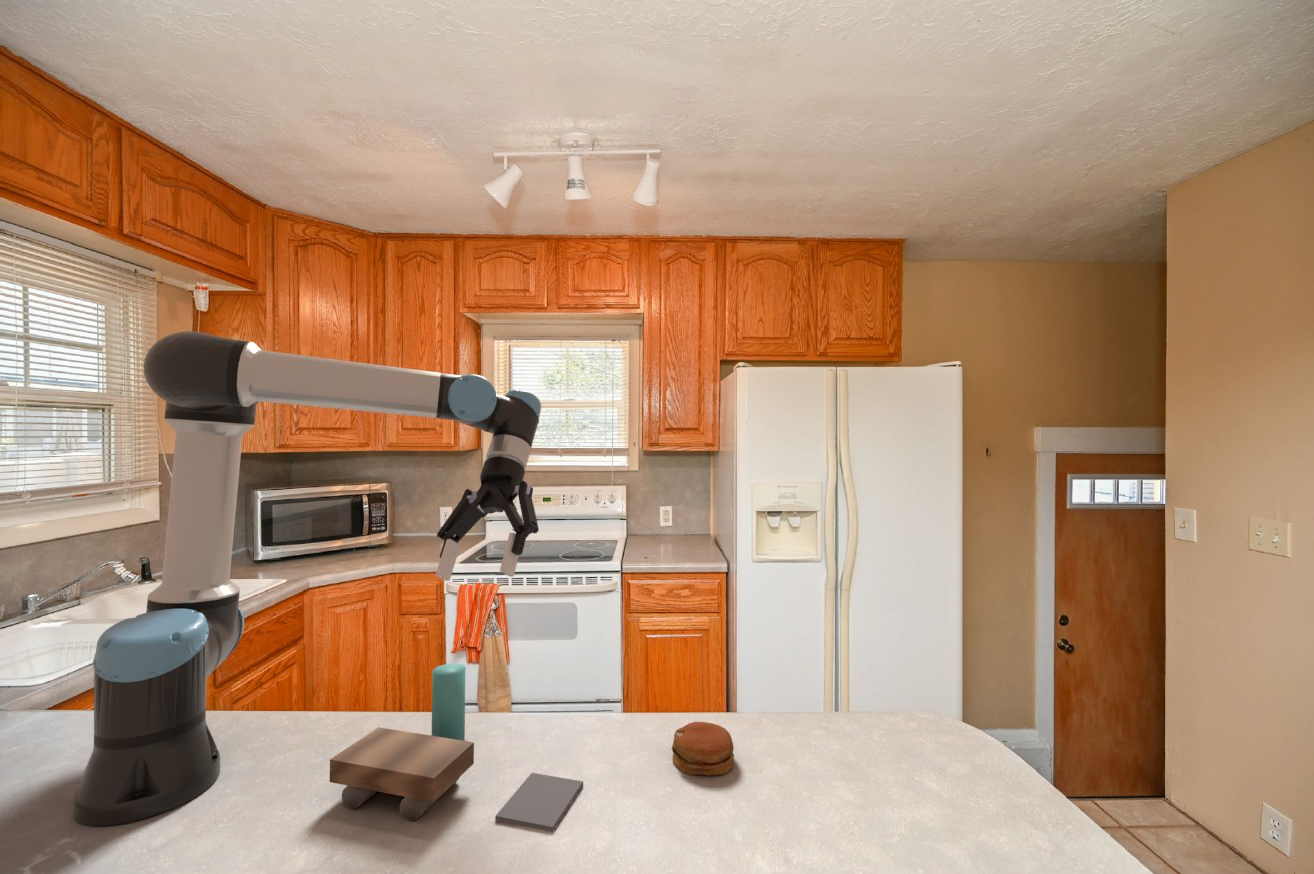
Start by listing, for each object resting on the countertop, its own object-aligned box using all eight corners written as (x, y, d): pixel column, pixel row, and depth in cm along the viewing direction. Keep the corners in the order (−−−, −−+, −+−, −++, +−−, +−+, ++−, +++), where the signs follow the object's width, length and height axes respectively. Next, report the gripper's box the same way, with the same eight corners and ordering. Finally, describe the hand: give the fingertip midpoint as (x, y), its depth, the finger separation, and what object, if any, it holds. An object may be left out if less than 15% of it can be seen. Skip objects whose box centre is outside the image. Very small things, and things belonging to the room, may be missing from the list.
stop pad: (495, 820, 74) (495, 815, 74) (531, 776, 83) (531, 772, 83) (552, 831, 71) (552, 826, 72) (583, 785, 81) (583, 781, 81)
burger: (744, 772, 85) (744, 741, 85) (686, 784, 82) (686, 751, 82) (716, 740, 94) (716, 711, 94) (663, 750, 91) (663, 720, 91)
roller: (424, 750, 90) (425, 673, 90) (444, 734, 95) (444, 662, 95) (452, 755, 89) (453, 677, 89) (470, 739, 94) (471, 665, 94)
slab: (329, 804, 76) (329, 759, 77) (378, 767, 85) (378, 727, 85) (433, 825, 72) (433, 778, 72) (473, 784, 81) (473, 742, 81)
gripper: (573, 466, 104) (549, 580, 92) (466, 482, 114) (432, 587, 102) (550, 444, 98) (521, 562, 87) (440, 463, 108) (401, 571, 97)
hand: (473, 576), depth 94 cm, fingers open, 13 cm apart
